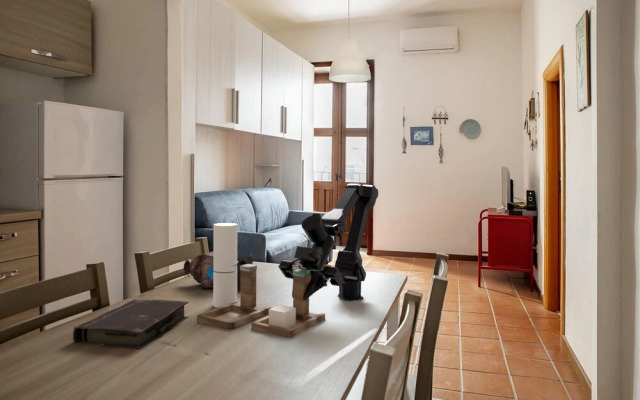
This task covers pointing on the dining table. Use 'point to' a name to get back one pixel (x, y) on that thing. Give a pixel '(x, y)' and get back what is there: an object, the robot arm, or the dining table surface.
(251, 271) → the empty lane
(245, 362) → the dining table surface
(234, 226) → the cylindrical container
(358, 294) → the robot arm
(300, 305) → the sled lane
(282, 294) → the dining table surface
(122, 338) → the diary
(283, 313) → the cube
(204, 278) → the patterned brown vase
